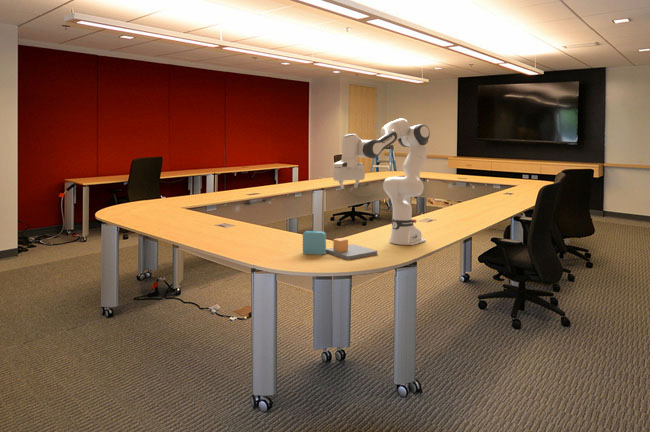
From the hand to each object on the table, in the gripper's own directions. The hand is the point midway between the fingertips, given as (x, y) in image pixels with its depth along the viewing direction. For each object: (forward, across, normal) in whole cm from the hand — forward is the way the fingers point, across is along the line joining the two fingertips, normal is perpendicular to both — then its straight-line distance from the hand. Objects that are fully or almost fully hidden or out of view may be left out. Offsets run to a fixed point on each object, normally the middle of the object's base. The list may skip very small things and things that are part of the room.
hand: (349, 188), depth 288 cm
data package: (+34, +24, 0) cm, 42 cm away
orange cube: (+32, +13, +9) cm, 36 cm away
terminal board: (+34, +8, +12) cm, 37 cm away
